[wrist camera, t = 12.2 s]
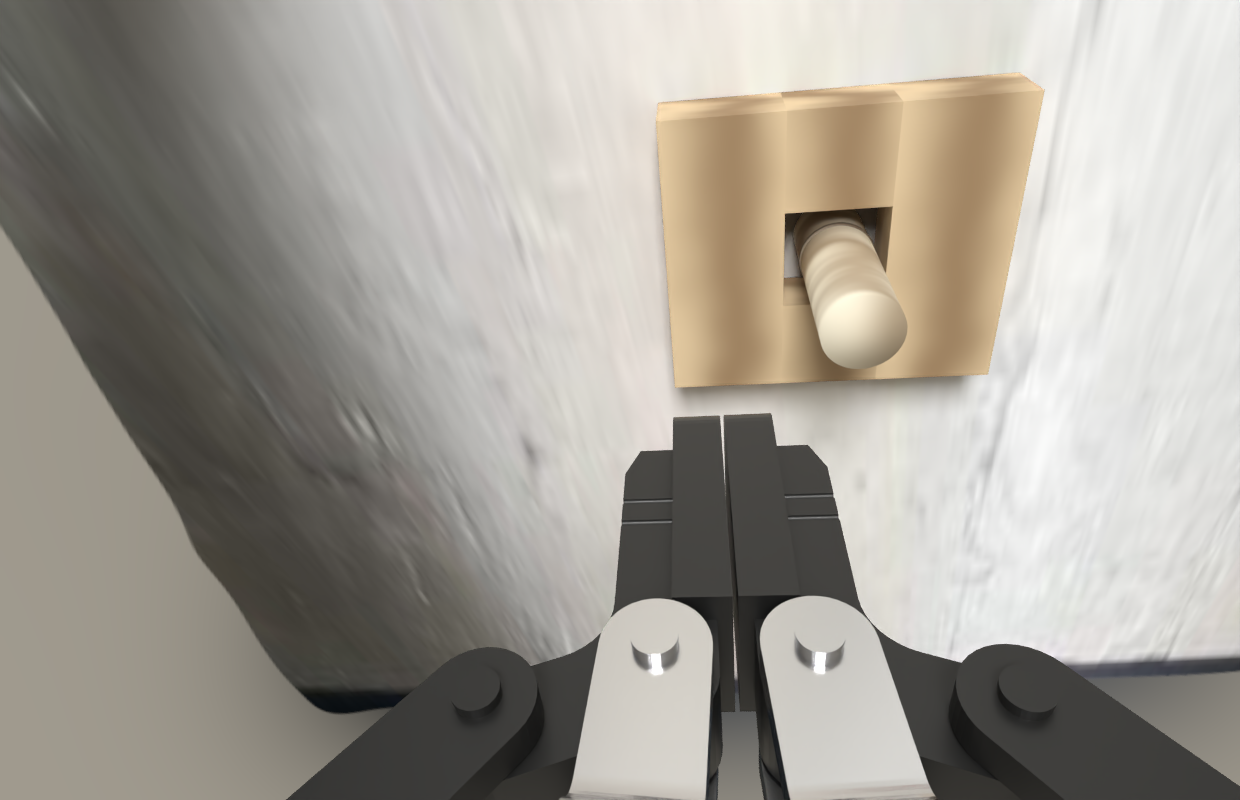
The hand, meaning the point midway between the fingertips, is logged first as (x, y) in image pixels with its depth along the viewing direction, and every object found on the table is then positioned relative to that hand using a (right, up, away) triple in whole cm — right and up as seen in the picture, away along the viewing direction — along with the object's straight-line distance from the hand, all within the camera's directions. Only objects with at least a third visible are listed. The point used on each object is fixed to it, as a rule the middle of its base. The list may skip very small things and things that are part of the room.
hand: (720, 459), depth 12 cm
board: (+9, +9, +27) cm, 30 cm away
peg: (+9, +9, +27) cm, 30 cm away
